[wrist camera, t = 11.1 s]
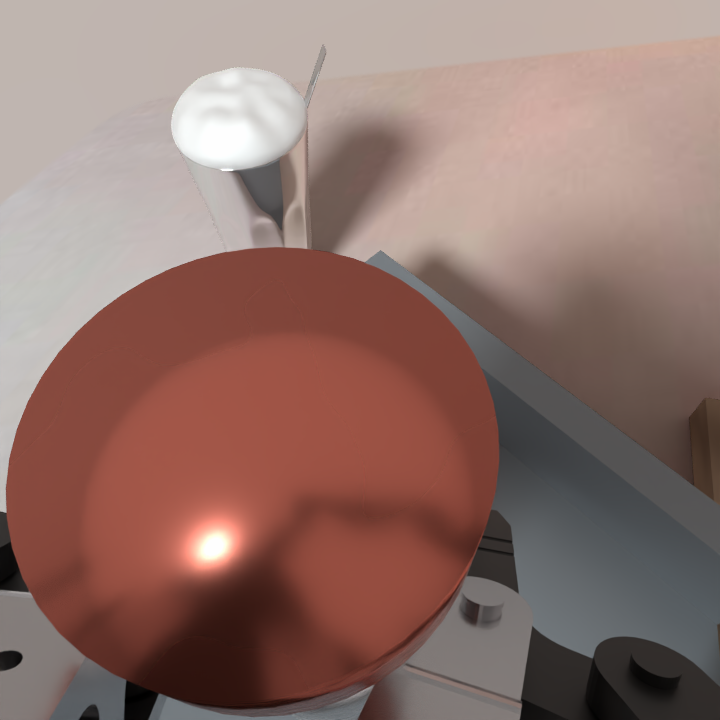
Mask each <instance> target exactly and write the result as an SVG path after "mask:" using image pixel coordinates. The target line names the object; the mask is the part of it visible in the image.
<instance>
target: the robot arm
mask: <svg viewBox="0 0 720 720" xmlns="http://www.w3.org/2000/svg"><path fill="white" fill-rule="evenodd" d="M512 542H513V540H512V531H511V525H510V524H509V523H508V522H507V521H506V520H505V519H504V517H503V516H502V515H501V514H500V513H499V512H498V511H497V510H491V511H490V514H489V518H488V522H487V525H486V528H485V530H484V533H483V535H482V538H481V541H480V543H479V546H478V548H477V551H476V554H475V556H474V559H473V561H472V564H471V567H470V569H469V571H468V574H467V576H466V578H465V581H464V583H463V585H462V588H461V590H460V592H459V595H458V597H457V598H456V600H455V601H454V603H453V605H452V606H451V608H450V610H449V611H448V613H447V615H446V616H445V618H444V620H443V621H442V622H441V624H440V625H439V626H438V627H437V629H436V630H435V631H434V632H433V634H432V635H431V636H430V637H429V639H428V640H427V641H426V642H425V644H424V645H423V646H421V647H420V648H419V649H418V650H417V651H416V652H415V653H414V654H413V655H412V656H411V657H410V658H409V659H408V660H407V661H406V662H405V663H403V664H402V665H401V666H400V667H399V668H397V669H396V670H394V671H393V672H392V673H390V674H389V675H387V676H386V677H384V678H383V679H382V680H380V681H379V682H377V683H376V684H374V686H373V688H372V691H371V693H370V695H369V697H368V699H367V701H366V703H365V705H364V707H363V709H362V711H361V713H360V715H359V717H358V720H720V686H719V685H717V684H716V683H715V682H714V681H713V680H712V679H711V678H710V677H709V676H708V675H707V674H706V673H705V672H704V671H703V670H702V669H700V668H699V667H698V666H697V665H696V664H695V663H693V662H692V661H691V660H689V659H688V658H686V657H685V656H683V655H682V654H680V653H678V652H676V651H675V650H672V649H670V648H668V647H666V646H664V645H661V644H659V643H656V642H653V641H649V640H646V639H641V638H637V637H628V636H620V637H612V638H609V639H606V640H604V641H602V642H600V643H599V644H598V646H597V647H596V649H595V652H594V656H593V658H590V657H588V656H585V655H583V654H580V653H578V652H575V651H573V650H570V649H568V648H566V647H564V646H561V645H559V644H557V643H556V642H554V641H552V640H550V639H549V638H547V637H546V636H544V635H543V634H541V633H540V632H539V631H538V630H536V629H535V628H534V627H533V626H532V624H533V612H532V609H531V607H530V606H529V604H528V603H527V602H526V600H525V599H524V598H523V597H522V596H520V595H519V590H518V582H517V573H516V565H515V557H514V548H513V544H512ZM166 699H167V696H164V695H162V694H159V693H156V692H154V691H151V690H148V689H146V688H144V687H141V686H139V685H137V684H134V683H132V682H130V681H127V680H125V679H123V678H121V677H118V676H116V675H114V674H112V673H110V672H109V671H107V670H106V669H104V668H103V667H101V666H99V665H98V664H96V663H95V662H93V661H92V660H90V659H89V658H87V657H85V656H84V655H83V654H82V653H81V652H79V651H78V650H77V649H76V648H75V647H74V646H73V645H72V644H71V643H70V642H68V641H67V640H66V639H65V638H64V637H63V636H62V635H61V634H60V633H59V632H58V631H57V630H56V629H55V627H54V626H53V625H52V624H51V622H50V621H49V620H48V619H47V617H46V616H45V615H44V613H43V612H42V611H41V610H40V608H39V607H38V605H37V604H36V602H35V600H34V598H33V596H32V594H31V593H30V591H29V589H28V587H27V585H26V584H25V582H24V580H23V578H22V575H21V572H20V569H19V566H18V564H17V561H16V558H15V555H14V552H13V549H12V544H11V539H10V533H9V528H8V522H7V513H4V512H0V720H159V718H160V715H161V713H162V710H163V707H164V705H165V702H166Z"/></svg>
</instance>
